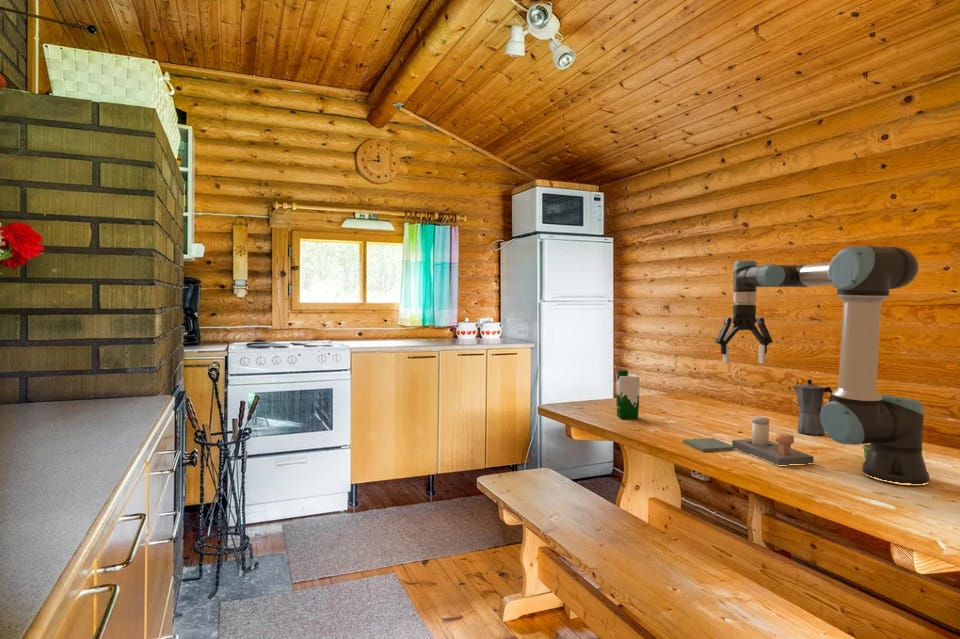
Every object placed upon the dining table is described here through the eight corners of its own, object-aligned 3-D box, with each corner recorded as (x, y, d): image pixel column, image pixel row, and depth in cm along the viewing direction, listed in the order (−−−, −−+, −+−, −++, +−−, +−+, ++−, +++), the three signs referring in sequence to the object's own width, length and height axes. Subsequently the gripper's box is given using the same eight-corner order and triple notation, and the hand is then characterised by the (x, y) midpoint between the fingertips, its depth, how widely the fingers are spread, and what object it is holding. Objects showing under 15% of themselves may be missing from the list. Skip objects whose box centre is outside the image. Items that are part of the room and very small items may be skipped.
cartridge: (771, 453, 181) (772, 419, 181) (758, 453, 181) (759, 420, 180) (761, 448, 186) (762, 416, 186) (748, 449, 185) (748, 417, 185)
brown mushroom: (797, 456, 171) (797, 437, 170) (783, 457, 170) (783, 437, 169) (785, 451, 175) (785, 433, 175) (771, 452, 175) (771, 433, 174)
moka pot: (797, 427, 217) (799, 376, 216) (840, 435, 204) (842, 381, 203) (784, 430, 212) (785, 378, 211) (828, 439, 199) (829, 383, 198)
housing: (813, 464, 169) (813, 456, 169) (778, 466, 167) (778, 458, 167) (763, 445, 190) (763, 438, 190) (732, 447, 188) (732, 440, 188)
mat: (735, 449, 185) (735, 446, 185) (702, 451, 183) (702, 448, 183) (713, 440, 197) (713, 437, 197) (682, 442, 195) (682, 439, 195)
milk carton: (614, 415, 239) (614, 369, 238) (635, 415, 239) (636, 369, 238) (619, 419, 230) (619, 371, 229) (641, 419, 230) (641, 371, 229)
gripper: (770, 304, 204) (769, 361, 204) (706, 304, 201) (705, 362, 202) (784, 304, 196) (782, 363, 197) (716, 304, 194) (716, 364, 194)
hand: (743, 363), depth 199 cm, fingers open, 13 cm apart
